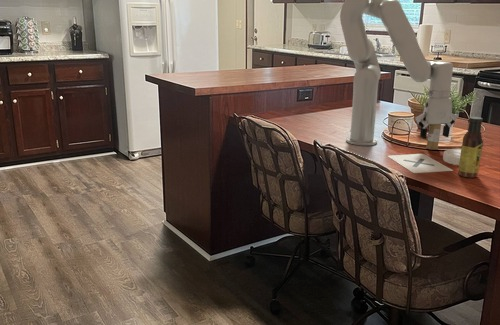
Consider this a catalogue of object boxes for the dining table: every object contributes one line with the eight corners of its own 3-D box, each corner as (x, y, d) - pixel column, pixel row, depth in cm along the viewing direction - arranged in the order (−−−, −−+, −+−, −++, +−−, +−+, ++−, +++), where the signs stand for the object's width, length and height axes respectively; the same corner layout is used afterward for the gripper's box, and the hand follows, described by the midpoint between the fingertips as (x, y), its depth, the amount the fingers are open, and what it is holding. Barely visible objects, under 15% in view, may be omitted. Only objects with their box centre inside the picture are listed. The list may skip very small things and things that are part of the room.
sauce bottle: (478, 179, 161) (487, 120, 155) (457, 177, 163) (466, 119, 157) (477, 173, 167) (486, 116, 160) (457, 171, 169) (465, 115, 163)
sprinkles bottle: (424, 147, 197) (428, 114, 193) (434, 146, 197) (439, 114, 193) (429, 150, 193) (433, 116, 188) (440, 150, 193) (444, 116, 189)
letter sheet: (386, 155, 185) (386, 155, 185) (422, 153, 188) (422, 153, 188) (413, 173, 166) (413, 173, 166) (453, 170, 169) (453, 170, 169)
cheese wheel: (482, 161, 180) (483, 152, 179) (471, 169, 172) (472, 159, 171) (449, 154, 188) (451, 145, 187) (437, 161, 180) (438, 152, 178)
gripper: (423, 97, 183) (419, 141, 188) (465, 95, 186) (459, 138, 192) (413, 93, 190) (409, 136, 195) (453, 91, 193) (448, 133, 198)
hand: (434, 137), depth 193 cm, fingers open, 9 cm apart
